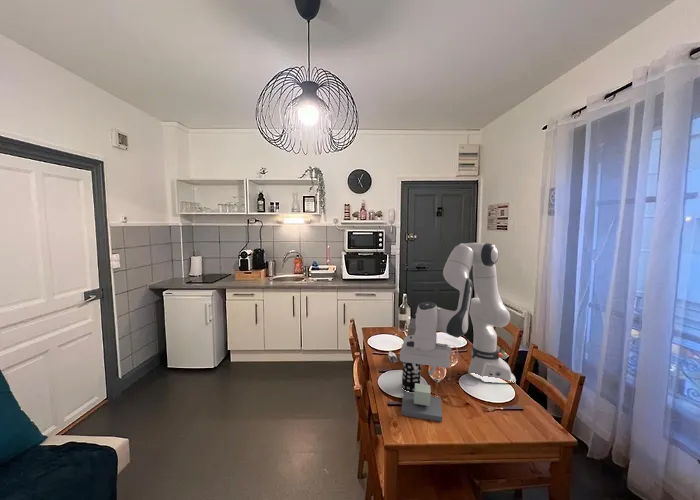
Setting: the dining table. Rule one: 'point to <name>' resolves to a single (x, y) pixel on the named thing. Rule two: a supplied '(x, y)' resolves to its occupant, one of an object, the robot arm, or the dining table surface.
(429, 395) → the sage green cube
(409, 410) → the charcoal board
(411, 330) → the thermos bottle
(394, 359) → the salt and pepper shakers
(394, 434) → the dining table surface
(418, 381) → the white-spotted black cylinder
